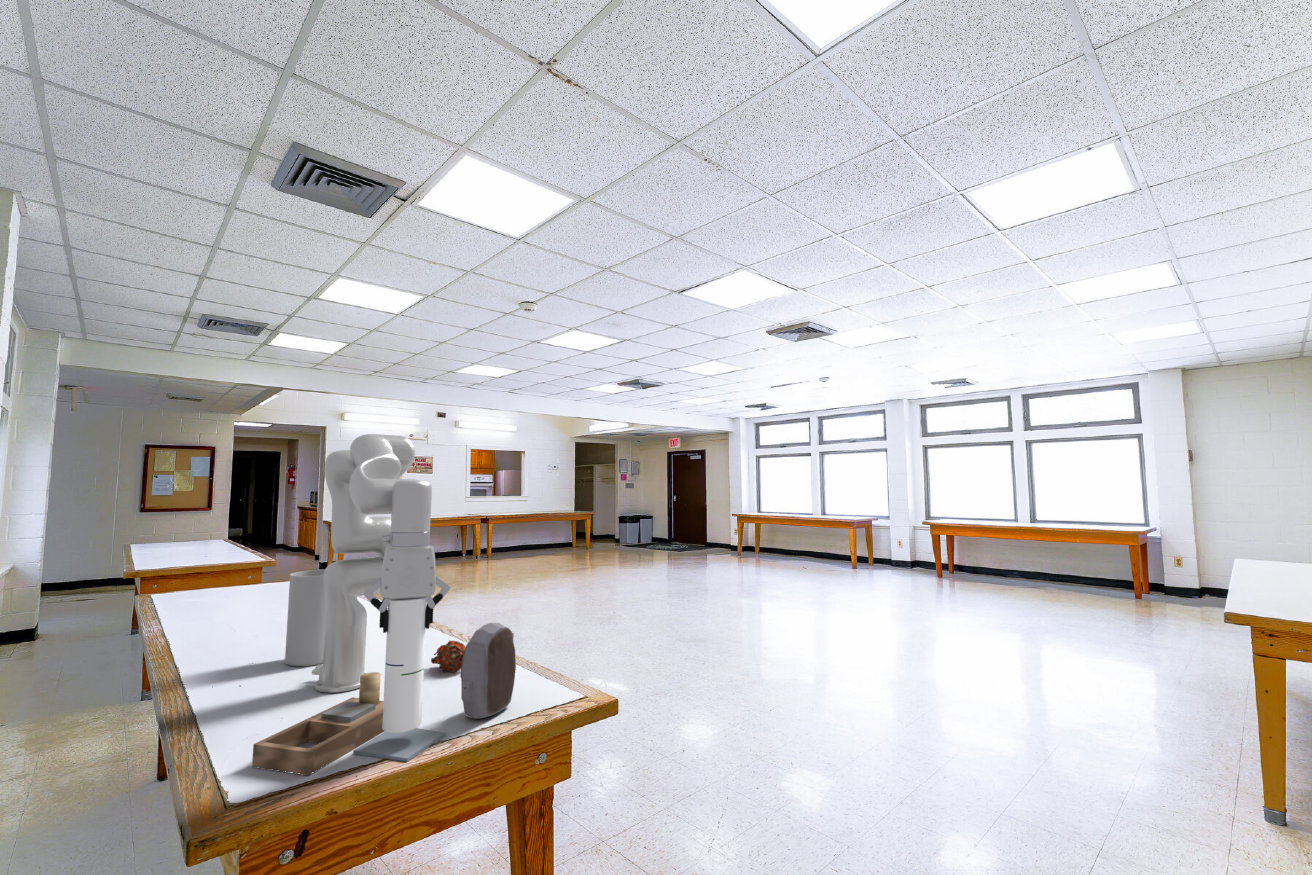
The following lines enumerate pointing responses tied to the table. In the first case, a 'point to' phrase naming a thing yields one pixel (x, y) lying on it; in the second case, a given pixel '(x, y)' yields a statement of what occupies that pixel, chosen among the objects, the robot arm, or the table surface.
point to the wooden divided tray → (325, 733)
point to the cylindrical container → (404, 665)
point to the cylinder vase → (306, 619)
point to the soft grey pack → (488, 671)
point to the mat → (400, 744)
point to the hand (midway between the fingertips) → (406, 628)
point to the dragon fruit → (449, 656)
